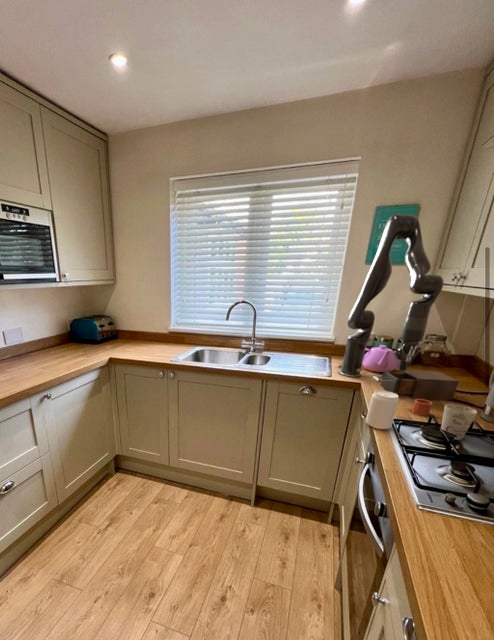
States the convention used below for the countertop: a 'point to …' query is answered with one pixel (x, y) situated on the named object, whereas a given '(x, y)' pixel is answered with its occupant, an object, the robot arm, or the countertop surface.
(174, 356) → the countertop surface
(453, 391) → the cabinet
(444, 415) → the mug
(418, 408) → the ramekin
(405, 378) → the drawer
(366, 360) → the teapot
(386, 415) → the white canister
